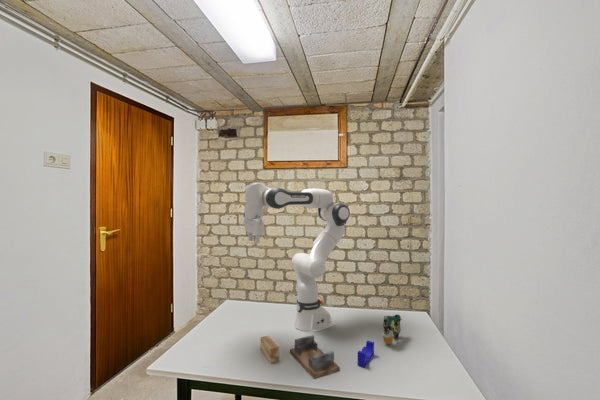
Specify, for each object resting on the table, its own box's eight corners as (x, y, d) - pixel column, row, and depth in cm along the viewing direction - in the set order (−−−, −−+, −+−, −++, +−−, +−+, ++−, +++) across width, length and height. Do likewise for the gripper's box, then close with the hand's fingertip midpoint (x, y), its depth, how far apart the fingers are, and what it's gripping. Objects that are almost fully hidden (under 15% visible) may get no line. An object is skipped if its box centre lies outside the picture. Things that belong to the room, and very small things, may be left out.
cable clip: (364, 352, 136) (364, 339, 136) (373, 355, 133) (374, 342, 133) (354, 365, 125) (354, 350, 125) (364, 368, 123) (364, 354, 123)
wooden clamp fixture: (312, 346, 141) (312, 332, 141) (339, 370, 121) (339, 354, 121) (289, 352, 135) (289, 337, 135) (313, 378, 116) (313, 361, 116)
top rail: (268, 348, 139) (268, 335, 139) (278, 360, 129) (278, 346, 129) (260, 350, 138) (260, 337, 138) (270, 363, 127) (270, 348, 127)
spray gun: (403, 336, 151) (404, 307, 150) (388, 350, 138) (388, 319, 137) (395, 333, 154) (395, 305, 152) (379, 347, 141) (379, 316, 140)
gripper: (267, 215, 142) (267, 244, 142) (253, 213, 161) (253, 239, 161) (254, 215, 139) (254, 245, 140) (242, 213, 158) (242, 239, 158)
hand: (253, 242), depth 150 cm, fingers open, 8 cm apart
